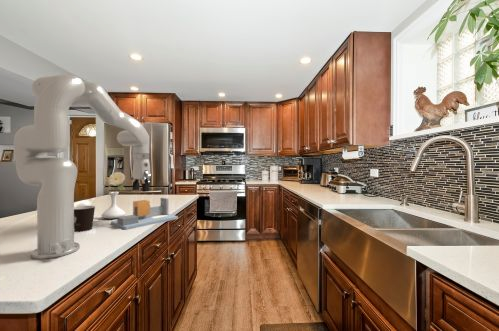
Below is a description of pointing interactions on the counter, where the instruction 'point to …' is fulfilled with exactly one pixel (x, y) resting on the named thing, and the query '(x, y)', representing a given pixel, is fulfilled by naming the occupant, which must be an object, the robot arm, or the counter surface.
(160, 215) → the rail
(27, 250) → the counter surface
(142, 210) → the clip
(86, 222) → the coffee mug
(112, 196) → the flower in vase
